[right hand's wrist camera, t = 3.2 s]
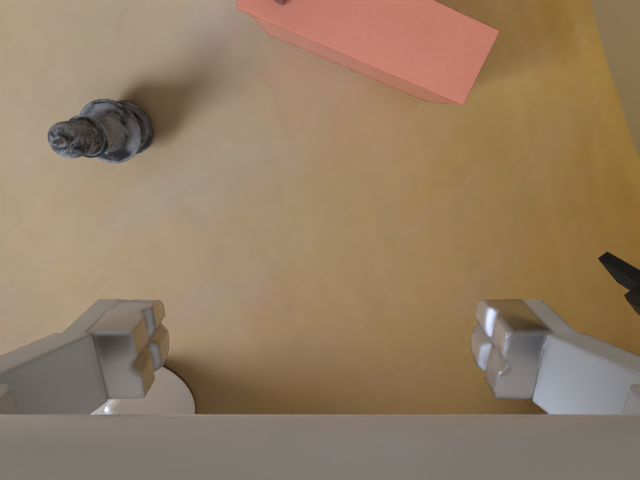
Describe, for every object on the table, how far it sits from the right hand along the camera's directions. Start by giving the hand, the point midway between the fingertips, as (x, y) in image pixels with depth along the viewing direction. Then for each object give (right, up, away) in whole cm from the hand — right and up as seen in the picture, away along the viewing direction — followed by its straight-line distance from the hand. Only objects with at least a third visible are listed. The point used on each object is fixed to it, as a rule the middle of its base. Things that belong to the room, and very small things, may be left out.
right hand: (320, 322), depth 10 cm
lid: (+3, +18, +18) cm, 26 cm away
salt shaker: (-20, +14, +30) cm, 39 cm away
